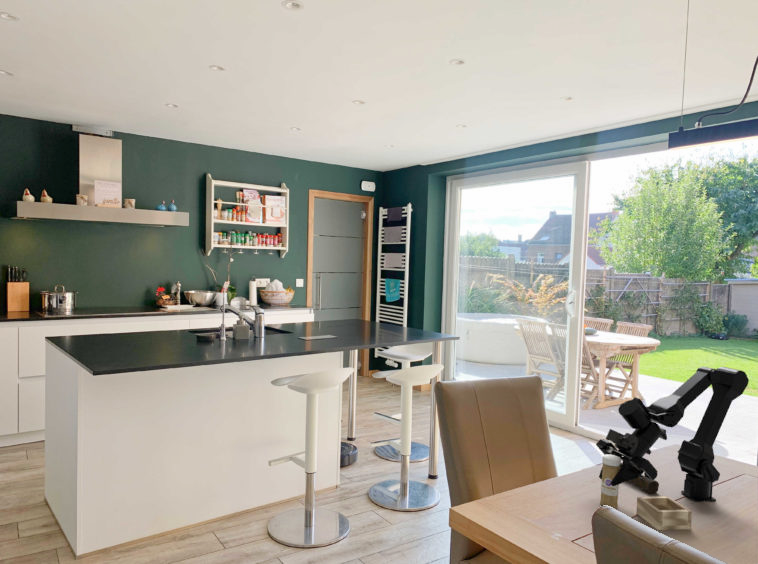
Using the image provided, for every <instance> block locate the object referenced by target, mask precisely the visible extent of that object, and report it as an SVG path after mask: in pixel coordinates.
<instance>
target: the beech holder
mask: <svg viewBox="0 0 758 564" xmlns="http://www.w3.org/2000/svg"><path fill="white" fill-rule="evenodd" d="M635 513H636V515H637V516H639V517H640V518H641V519H643V520H644V521H645V522H647V523H648V524H649V525H651V526H652V527H653V528H655V529H656V530H658V531H665V530H667V531H669V530H670V531H672V530H691V529H692V520H693V519H692V517H693V512H692V510H690V509H689V508H688V507H686V506H684V505H682V504H681V503H680V502H678V501H677V500H675V499H673V498H671V497H670V496H637V497H636V511H635Z"/></svg>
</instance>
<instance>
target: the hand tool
mask: <svg viewBox="0 0 758 564" xmlns="http://www.w3.org/2000/svg"><path fill="white" fill-rule="evenodd" d="M622 464H623V462H621V464H620V468H619V471H620V469H621V468H622ZM641 476H642V478H636V479H633V480H629V481H628V482H630V483H631V484H633V485H635V486H637V487H639V488H641V489H642V490H644V491H646V492H647V493H648V494H649V495H653V494H657V493H658V491H659V487H660V483H659V482H658V481H657V480H655V479H654V481H651V480H649V479H647V478H646V477H645V476H644V474H642V475H641Z"/></svg>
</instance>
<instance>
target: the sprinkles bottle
mask: <svg viewBox="0 0 758 564" xmlns="http://www.w3.org/2000/svg"><path fill="white" fill-rule="evenodd" d="M601 459H602V467H603V470H602V480H601V482H600V483H601V484H600V501H599V503H600V505H602V506H603V505H608V506H611V507H613V508H612V509H617V508H618V507H619V505H618V500H619V489H620V487H619V485H620V484H618V485H616V486H612V485H611V481H612V480H613V478H614V477H615V476H616V474H617V473H618V472H619V468H620V464H621V463H622V462H621V461H622V460H621V459H620V457H618V456H615V455H611V454H605V455H604V454H603V455H602V458H601Z"/></svg>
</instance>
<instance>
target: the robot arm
mask: <svg viewBox="0 0 758 564" xmlns="http://www.w3.org/2000/svg"><path fill="white" fill-rule="evenodd" d="M749 381H750V380H749V378H748V375H747V373H746V372H745V371H744V370H740V369H737V368H731V367H727V366H721V367H718V368H712V367H708V366H700V367H697V369H696V372H694V374H692V375H691V376H690V377H689V378H688V379H687V380H685V382H683V384H681V385H680V386H679V387H678V388H677V389H676V390H674V392H672V393H671V394H669V395H668V396H665V397H660V398H659V399H657V400H655V401H653V402H652V403H651V404H650V405H647V406H646V405H645V404H644V402H643V401H642V399H641V398H638V397H633V399H630V400H627V401H624V402H623V403H621V404H620V406H619V407H618V410H617V411H618V414H619V415H620V416H621V417H622V419H624V421H625V423H627V425H628V426H629V427H630V428H631V429H634V431H632V433H628V432H625V434H622V433H621V432H618V431H616V430H615V429H611V428H609V430H608V433H607V435H606V437H605V439H604V438H601V439H599V440H598V441H597V442H596V444H595V445H596V447H597V448H598V449H599V451H601V452H602V454H603V455H605V454H611V455H615V456H618V457H620V459H621V461H622V463H623V464H622V468H621V469H620V471H619V472H618V473H617V474H616V476H615V477H614V478H613V480H612V481H611V485H612V486H616V485H618V484H619V485H621V484H623V483H626V482H629V480H633V479H636V478H642V476H641V475H643V476H645V477H646V478H647V479H649V480H651V481H654V480H655V479H656V478H657V477H658V472H659V471H658V470H657V468H655V466H654V465H653V464H652V462H651V461H649V460H648V459H647V458H644V457H645V455H646V454H647V455H649V456H650V455H651V454H652V451H651V448H652V447H653V445H654V444H655V443H656V442H657V441H658V440H659V438H660V439H662V440H665V441H667V440H668V436H667V430H666V429H665V428H662V427H660V426H661V425H662V426H664V427H666V428H674V427H676V426H677V425H678V424H679V423H680V421H681V420H683V418H684V416H685V410H686V409H687V407H688V406H689V405H690V404H692V403H693V402H694V401H695V400H696V399H697V398H698V397H699V396H701V394H703V393H704V392H705V391H706V390H707V389H708V388H709V387H710V386H711V389H712V395H711V398H710V400H709V402H708V404H707V407H706V409H705V411H704V414H703V416H702V419H701V420H700V423H699V425H698V427H697V429H696V432H695V434H694V436H693V438H691V439H690V440H685V439H684V440H683V441H682V442H681V445H680V447H679V449H678V450H677V460H678V463H679V466H680V467H679V468H680V470H681V472H683V473H686V474H685V478H684V483H683V484H684V485H683V490H681V491H680V493H681V494H683V495H684V496H686V497H688V498H689V499H691V500H693V501H694V502H716V501H717V499H716V498H715V497H713V487H714V486H713V485H714V483H715V482H718V481H719V479H720V476H721V473H720V472H719V471H718V469H717V468H716V467H715V465H714V461H715V452H714V447H713V446H714V444H715V441H716V439H717V436H718V435H719V432H720V430H721V427H722V425H723V423H724V422H725V419H726V417H727V414H728V411H729V409H730V407H731V404H732V402H733V401H734V400H736V399H738V398H739V397H741V395H743V393H744V392H745V390H746V389H747V387H748V385H749ZM602 470H603V466H601V470H600V472H599V475H598V478H599V479H600V480H601V481H602Z"/></svg>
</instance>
